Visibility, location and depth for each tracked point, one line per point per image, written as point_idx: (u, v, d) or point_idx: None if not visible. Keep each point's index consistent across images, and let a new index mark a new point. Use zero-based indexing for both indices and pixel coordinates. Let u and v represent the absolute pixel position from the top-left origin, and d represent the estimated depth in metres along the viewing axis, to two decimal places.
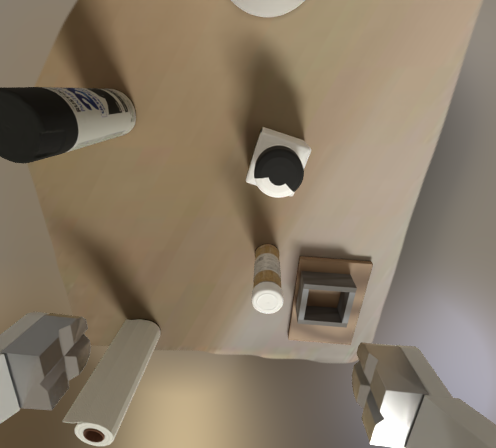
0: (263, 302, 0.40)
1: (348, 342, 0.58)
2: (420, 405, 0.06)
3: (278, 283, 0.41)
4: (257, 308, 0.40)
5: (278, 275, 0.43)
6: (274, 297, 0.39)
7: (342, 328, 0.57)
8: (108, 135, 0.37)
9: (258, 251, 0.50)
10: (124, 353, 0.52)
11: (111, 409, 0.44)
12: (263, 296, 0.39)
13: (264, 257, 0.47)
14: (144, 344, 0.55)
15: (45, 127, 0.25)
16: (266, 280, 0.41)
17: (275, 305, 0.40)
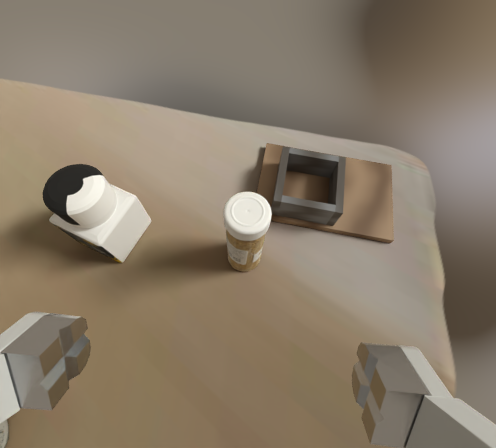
0: (247, 216, 0.26)
1: (387, 167, 0.44)
2: (420, 405, 0.06)
3: None
4: (258, 226, 0.25)
5: None
6: (240, 201, 0.26)
7: (363, 173, 0.43)
8: None
9: (232, 262, 0.36)
10: None
11: None
12: (236, 215, 0.26)
13: (227, 246, 0.34)
14: None
15: None
16: None
17: (254, 201, 0.26)
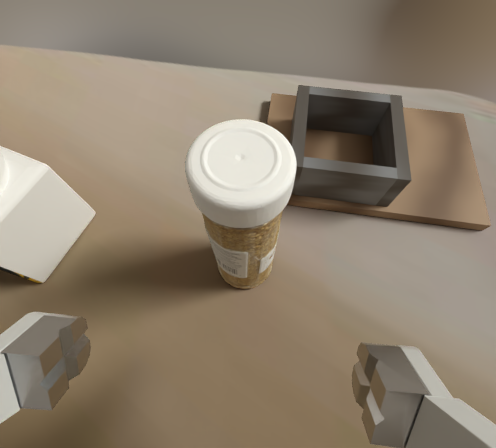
0: (241, 169, 0.11)
1: (457, 117, 0.29)
2: (420, 405, 0.06)
3: None
4: (268, 189, 0.10)
5: None
6: (223, 137, 0.12)
7: (423, 126, 0.28)
8: None
9: (224, 274, 0.21)
10: None
11: None
12: (213, 167, 0.11)
13: None
14: None
15: None
16: None
17: (256, 136, 0.12)
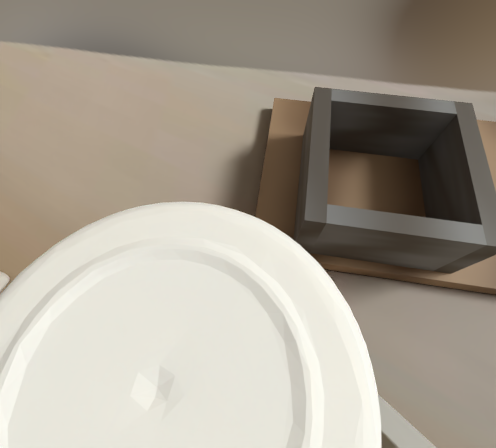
0: None
1: None
2: None
3: None
4: None
5: None
6: (103, 283, 0.03)
7: (490, 146, 0.20)
8: None
9: None
10: None
11: None
12: None
13: None
14: None
15: None
16: None
17: (223, 278, 0.03)
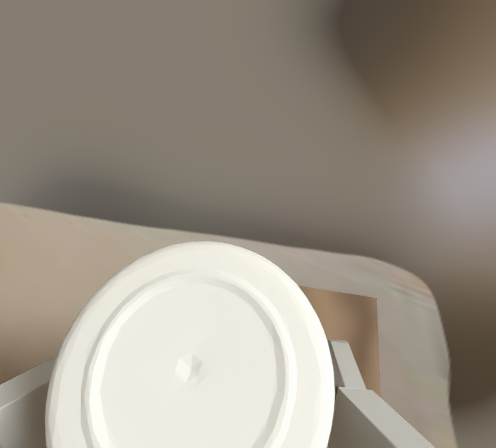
0: (188, 416, 0.04)
1: (370, 302, 0.29)
2: (335, 397, 0.06)
3: None
4: None
5: None
6: (153, 300, 0.05)
7: (333, 316, 0.28)
8: None
9: None
10: None
11: None
12: (112, 406, 0.04)
13: None
14: None
15: None
16: None
17: (233, 297, 0.05)
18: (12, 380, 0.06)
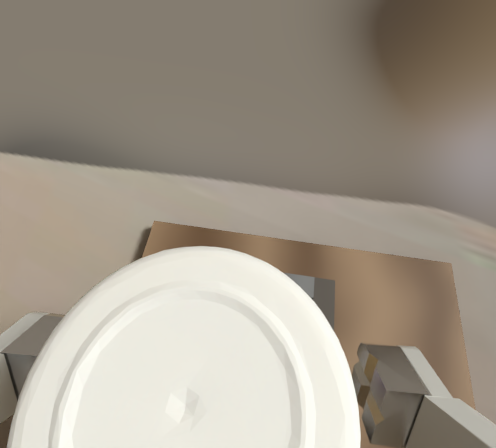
0: None
1: (442, 270, 0.18)
2: (420, 405, 0.06)
3: None
4: None
5: None
6: (139, 320, 0.04)
7: (385, 291, 0.17)
8: None
9: None
10: None
11: None
12: None
13: None
14: None
15: None
16: None
17: (236, 316, 0.04)
18: None
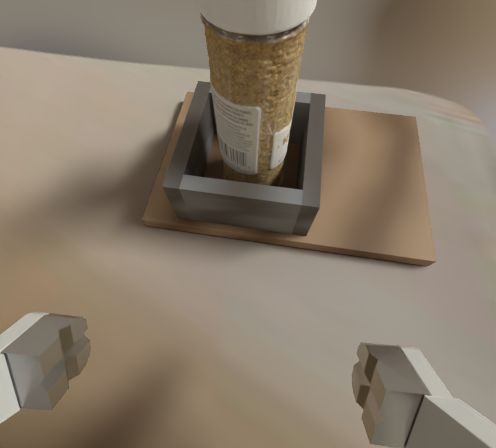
0: None
1: (408, 120, 0.24)
2: (420, 405, 0.06)
3: None
4: None
5: None
6: None
7: (364, 132, 0.23)
8: None
9: None
10: None
11: None
12: None
13: (218, 137, 0.17)
14: None
15: None
16: None
17: None
18: None
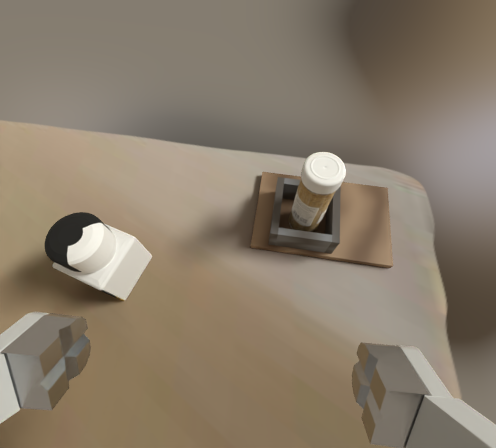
0: (326, 171, 0.29)
1: (383, 190, 0.44)
2: (420, 405, 0.06)
3: None
4: (337, 179, 0.29)
5: None
6: (317, 159, 0.30)
7: (359, 197, 0.44)
8: None
9: (295, 227, 0.40)
10: None
11: None
12: (315, 170, 0.29)
13: (293, 209, 0.37)
14: None
15: None
16: (301, 179, 0.32)
17: (329, 159, 0.30)
18: None
